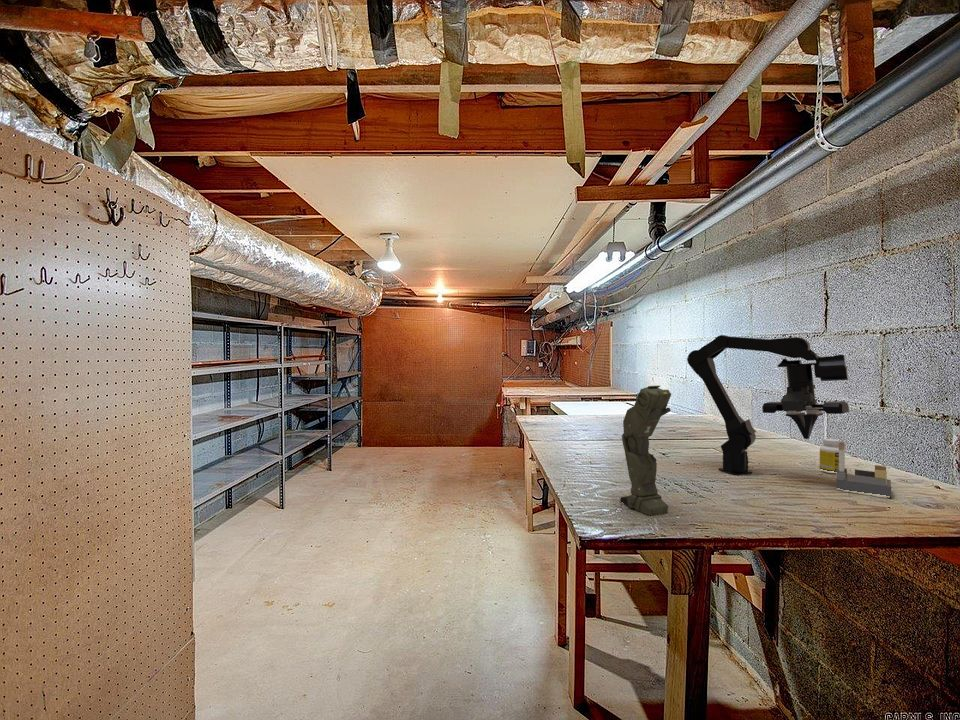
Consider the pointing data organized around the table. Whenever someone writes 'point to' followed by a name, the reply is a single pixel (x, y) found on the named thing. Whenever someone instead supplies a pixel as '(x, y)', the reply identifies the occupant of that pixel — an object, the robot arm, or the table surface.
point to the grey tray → (865, 481)
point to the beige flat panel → (842, 457)
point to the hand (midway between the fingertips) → (806, 438)
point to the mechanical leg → (644, 449)
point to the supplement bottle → (829, 455)
